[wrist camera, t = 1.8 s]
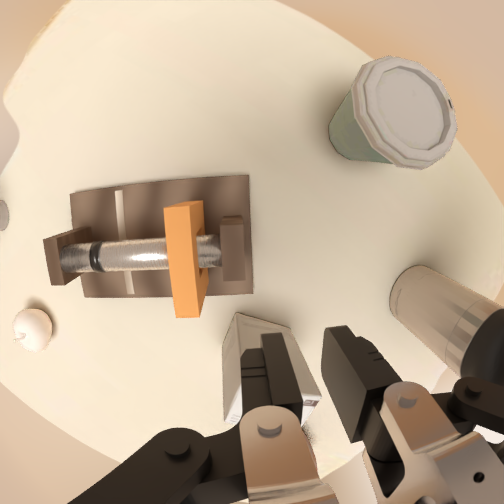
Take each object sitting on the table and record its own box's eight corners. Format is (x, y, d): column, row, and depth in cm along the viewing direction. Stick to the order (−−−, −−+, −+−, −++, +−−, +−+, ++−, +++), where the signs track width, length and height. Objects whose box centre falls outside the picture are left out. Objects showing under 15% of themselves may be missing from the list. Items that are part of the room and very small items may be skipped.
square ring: (203, 200, 29) (189, 206, 20) (208, 281, 31) (199, 317, 22) (184, 201, 29) (163, 207, 20) (191, 282, 31) (175, 317, 22)
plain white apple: (30, 293, 34) (1, 312, 26) (61, 315, 35) (34, 338, 27) (27, 325, 35) (2, 346, 27) (57, 346, 36) (34, 371, 28)
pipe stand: (248, 175, 32) (252, 171, 23) (252, 289, 35) (258, 324, 26) (75, 193, 31) (32, 198, 22) (89, 293, 34) (55, 322, 25)
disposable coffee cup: (324, 182, 33) (386, 181, 18) (299, 100, 30) (341, 48, 16) (394, 165, 33) (472, 161, 18) (371, 90, 30) (437, 51, 15)
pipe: (242, 229, 27) (243, 235, 24) (244, 261, 28) (245, 271, 25) (59, 242, 26) (43, 248, 23) (63, 269, 27) (49, 277, 24)
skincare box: (221, 345, 37) (216, 424, 22) (236, 308, 36) (238, 381, 21) (277, 360, 38) (296, 437, 24) (294, 326, 37) (324, 398, 22)
